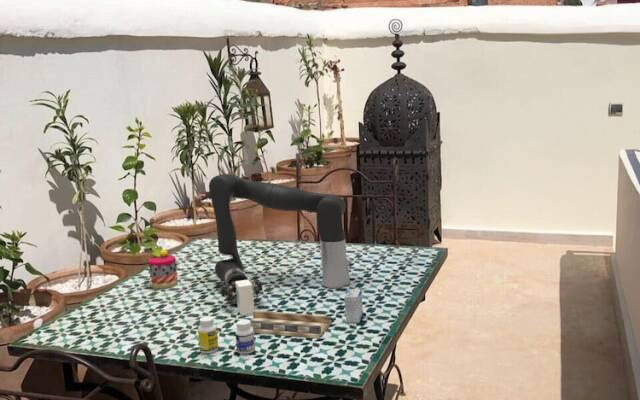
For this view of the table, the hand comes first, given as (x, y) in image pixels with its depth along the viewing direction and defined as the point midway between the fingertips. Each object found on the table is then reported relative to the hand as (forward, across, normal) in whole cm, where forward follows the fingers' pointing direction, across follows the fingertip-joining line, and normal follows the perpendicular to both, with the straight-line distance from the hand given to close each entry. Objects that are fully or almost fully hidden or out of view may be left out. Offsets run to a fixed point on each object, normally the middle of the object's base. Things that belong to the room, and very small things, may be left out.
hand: (244, 294), depth 226 cm
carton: (0, 0, +6) cm, 6 cm away
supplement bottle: (+27, -16, +6) cm, 32 cm away
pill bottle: (+32, -6, +6) cm, 33 cm away
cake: (-43, -24, +6) cm, 50 cm away
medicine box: (+22, +31, +6) cm, 38 cm away
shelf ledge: (+20, +9, +6) cm, 23 cm away
